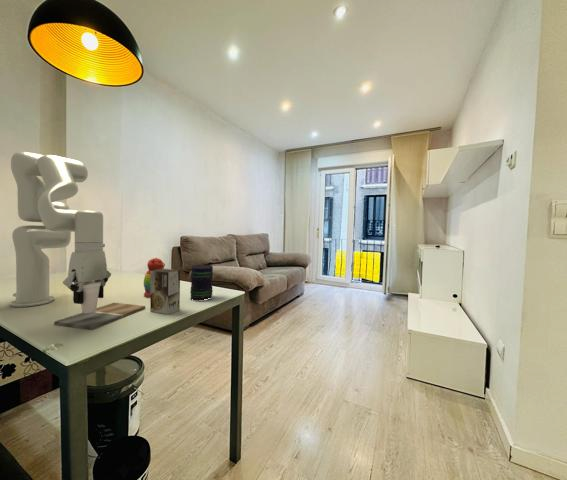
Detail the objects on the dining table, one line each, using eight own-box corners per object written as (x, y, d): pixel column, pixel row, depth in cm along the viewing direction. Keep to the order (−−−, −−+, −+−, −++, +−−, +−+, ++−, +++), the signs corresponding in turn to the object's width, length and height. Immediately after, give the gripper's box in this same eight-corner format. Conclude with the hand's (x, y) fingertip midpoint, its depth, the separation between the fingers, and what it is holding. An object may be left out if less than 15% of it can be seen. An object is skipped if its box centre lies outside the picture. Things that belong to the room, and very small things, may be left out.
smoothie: (87, 315, 80) (87, 272, 79) (71, 313, 81) (71, 271, 81) (105, 309, 86) (105, 269, 86) (90, 307, 87) (90, 268, 87)
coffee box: (180, 310, 98) (181, 269, 98) (168, 315, 92) (168, 272, 92) (162, 306, 101) (163, 267, 101) (149, 311, 95) (149, 270, 95)
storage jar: (216, 298, 116) (217, 266, 115) (197, 302, 108) (197, 268, 108) (205, 294, 122) (205, 264, 122) (186, 298, 115) (186, 266, 114)
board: (54, 324, 80) (54, 321, 80) (113, 305, 102) (113, 302, 102) (92, 329, 77) (92, 326, 77) (145, 308, 98) (145, 306, 98)
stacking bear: (162, 298, 113) (163, 259, 113) (139, 298, 112) (139, 259, 111) (170, 292, 124) (170, 257, 124) (148, 292, 123) (149, 256, 122)
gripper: (103, 245, 92) (103, 293, 93) (51, 248, 75) (51, 307, 76) (120, 246, 90) (120, 295, 91) (71, 249, 74) (71, 309, 74)
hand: (89, 300), depth 83 cm, fingers closed on smoothie, 6 cm apart
